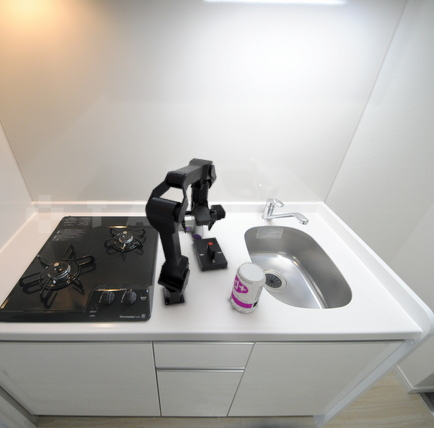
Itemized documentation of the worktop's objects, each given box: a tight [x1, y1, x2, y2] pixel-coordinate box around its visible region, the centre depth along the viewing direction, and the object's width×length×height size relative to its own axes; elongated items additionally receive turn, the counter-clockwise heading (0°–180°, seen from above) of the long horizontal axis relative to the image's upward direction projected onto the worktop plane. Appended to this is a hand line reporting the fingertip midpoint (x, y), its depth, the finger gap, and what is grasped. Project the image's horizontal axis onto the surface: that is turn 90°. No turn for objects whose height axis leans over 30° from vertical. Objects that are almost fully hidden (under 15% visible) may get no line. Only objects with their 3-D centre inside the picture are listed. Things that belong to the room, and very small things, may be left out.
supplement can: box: [229, 261, 267, 314], centre depth 64 cm, size 8×8×15 cm
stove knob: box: [207, 243, 216, 258], centre depth 81 cm, size 5×2×4 cm, turn 10°
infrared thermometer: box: [178, 218, 204, 240], centre depth 97 cm, size 5×12×15 cm
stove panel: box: [192, 237, 229, 272], centre depth 85 cm, size 15×10×3 cm, turn 9°
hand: (197, 231), depth 80 cm, fingers open, 9 cm apart
